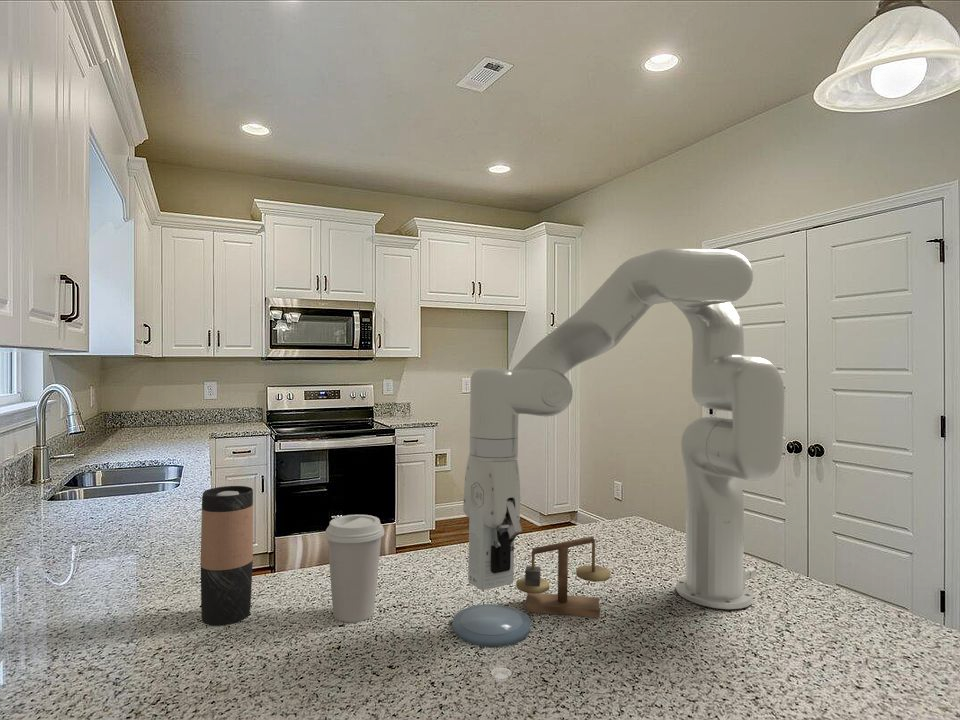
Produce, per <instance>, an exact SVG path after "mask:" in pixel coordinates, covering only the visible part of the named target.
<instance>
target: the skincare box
mask: <svg viewBox="0 0 960 720" xmlns="http://www.w3.org/2000/svg"><path fill="white" fill-rule="evenodd" d="M477 509H479V507H478V508H476V506H475V507H474V505H472V504H470V517H468V518H469V519H468V520H469V523H468V524H469V525H468V562H467V563H468V564H467V567H468V570H467V572H468V573H467V580H468V581H467V582H469V583H470V584H471V585H472V586H474V587H475V588H477V589H479V590H480V591H485V590H490V589H494V588H500V587H504V586H508V585H511V584H513V583H514V580H515V579H514V575H515V574H514V571H515V569H514V568H515V567H514V566H515V539H514V540H513V545H511V563H510V570H509V571H505V572H500V573H495V574H494V573H492V572H491V546H494V540H493V530H492V528H489V527H487V526H485V525H484V524H483V512H482V513H480V514H479V511H478V510H477ZM502 524H505V520H503V523H502ZM499 530H500V536H501V534H502V533H503V532H505V529H499Z"/></svg>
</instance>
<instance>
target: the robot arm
mask: <svg viewBox="0 0 960 720" xmlns="http://www.w3.org/2000/svg"><path fill="white" fill-rule="evenodd" d="M753 271H754V270H753V268H752V265H751V263H750V261H749V260H748V259H747V258H746V257H745V256H744V255H743V254H741V253H740V252H738V251H735V250H731V249H725V248H723V249H722V248H721V249H718V248H717V249H716V248H715V249H714V248H660V249H656V250H653V251H650V252H647V253H643V254H640V255H636V256H634V257H630V258H629V259H627V260H625V261H623V263H621V265H619V267H617V268H616V269H615V270H614V271H613V273H612V274H611V275H610V276H609V277H608V278H607V279H606V280H605V281H604V282H603V283H602V284H601V285H600V287H598V289H597V290H596V291H595V292H594V293H593V294H592V295H591V296H590V297H589V299H587V300H586V302H584V303H583V304H582V306H581V307H579V309H578V310H577V311H576V312H575V313H574V314H572V315H571V316H570V317H568V318H567V319H566V320H565V321H563V322H562V323H561V324H560V325H558V326H557V327H556V328H554V329H553V330H552V331H551V332H549V333H548V334H547V335H546V336H544V337H543V338H542V339H541V340H540V341H539V342H537V343H536V344H535V345H534V346H533V347H532V348H531V349H530V350H529V351H528V352H527V353H526V354H525V356H523V357H522V358H521V360H520V361H519V362H518V363H517V364H516V365H515V366H514V368H512V369H508V368H479V369H476V370H473V372H472V374H471V377H470V393H469V394H470V396H469V397H470V399H469V400H470V401H469V403H470V404H469V405H470V406H469V410H470V411H469V453H468V457H467V462H466V466H465V467H466V468H465V476H464V487H463V503H462V504H463V506H462V509H463V513H464V515H465V516H467V518H469V517H470V504H472V505H474V507H475V506H476V508H478V507H479V509H477V510H478V511H479V514H480V513H482V512H483V524H484V525H485V526H487V527H489V528H492V530H493V540H494V546H491V572H492V573H494V574H495V573H500V572H505V571H509V570H510V563H511V545H513V540H514V541H515V539H516V537H517V536H519V535H521V534H522V530H523V529H522V526H521V523H520V519H521V505H522V504H521V502H522V501H521V500H522V499H521V481H520V479H521V478H520V471H519V463H518V457H519V455H518V453H519V415H528V416H529V415H531V416H537V417H546V418H547V417H554V416H557V415H559V414H561V413H562V412H564V411H565V410H566V409H568V407H569V406H570V404H571V402H572V399H573V387H572V383H571V382H570V379H568V377H567V376H566V374H567V373H568V372H570V371H571V370H572V369H574V368H575V367H578V365H580V364H582V363H584V362H586V361H589V360H591V359H594V358H597V357H599V356H601V355H603V354H605V353H607V352H608V351H610V350H613V349H614V348H615V347H616V346H617V345H618V344H619V343H620V342H621V341H622V340H623V339H624V337H625V336H626V335H627V334H628V333H629V332H630V331H631V329H632V328H633V327H634V326H635V325H636V324H637V323H638V322H639V320H640V319H641V318H642V317H643V316H644V315H645V313H647V311H649V309H651V308H652V307H653V306H654V305H659V304H664V303H665V304H666V303H672V304H673V305H674V306H676V307H677V308H678V309H679V311H680V312H681V313H682V314H683V315H684V316H685V318H686V319H687V322H688V323H689V326H690V330H691V336H692V341H691V342H692V353H691V355H692V356H691V357H692V359H691V361H692V362H691V392H692V397H693V399H694V401H695V402H696V403H697V404H699V405H700V406H701V407H704V408H707V409H710V410H716V411H723V412H724V411H725V412H732V418H725V417H717V416H705V417H699V418H697V419H695V420H693V421H691V422H690V423H689V424H688V425H687V426H686V427H685V428H684V430H683V433H682V436H681V439H680V440H681V443H680V448H681V455H682V460H683V466H684V473H685V483H686V499H685V500H686V501H685V503H686V504H685V521H686V522H685V576H684V577H682V578H680V579H678V580H677V581H676V587H675V588H676V592H677V594H678V595H679V596H680V597H681V598H683V599H685V600H687V601H689V602H691V603H693V604H696V605H700V606H703V607H706V608H711V609H719V610H740V609H745V608H747V607H750V606H751V605H752V604H753V601H754V595H753V592H752V591H751V590H750V589H749V588H748V587H746V582H747V581H748V580H749V579H754V578H756V577H757V576H758V572H757V569H756V568H755V567H753V566H748V567H745V568H744V542H745V541H744V535H745V533H744V532H745V527H744V526H745V524H744V523H745V498H744V497H745V496H744V492H743V487H742V483H741V480H745V481H751V482H762V481H765V480H768V479H770V478H771V477H772V476H773V475H774V474H775V473H776V471H777V470H778V468H779V467H780V464H781V461H782V456H783V450H784V430H785V429H784V428H785V427H784V424H785V385H784V382H783V378H782V376H781V374H780V371H779V370H778V368H777V367H776V366H775V365H774V364H773V363H772V362H771V361H769V360H768V359H766V358H764V357H759V356H750V355H749V356H746V355H745V341H744V339H745V338H744V337H745V336H744V335H745V333H744V332H745V331H744V327H743V326H744V325H743V322H742V319H741V317H740V315H739V313H738V311H737V310H736V308H735V306H733V304H732V303H733V302H736V301H738V300H739V299H741V298H743V297H745V296H746V295H747V293H748V292H749V290H750V288H751V286H752V284H753V280H754V272H753ZM503 520H505V524H502V523H503ZM499 529H505V532H503V533H502V534H501V536H500V530H499Z"/></svg>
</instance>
